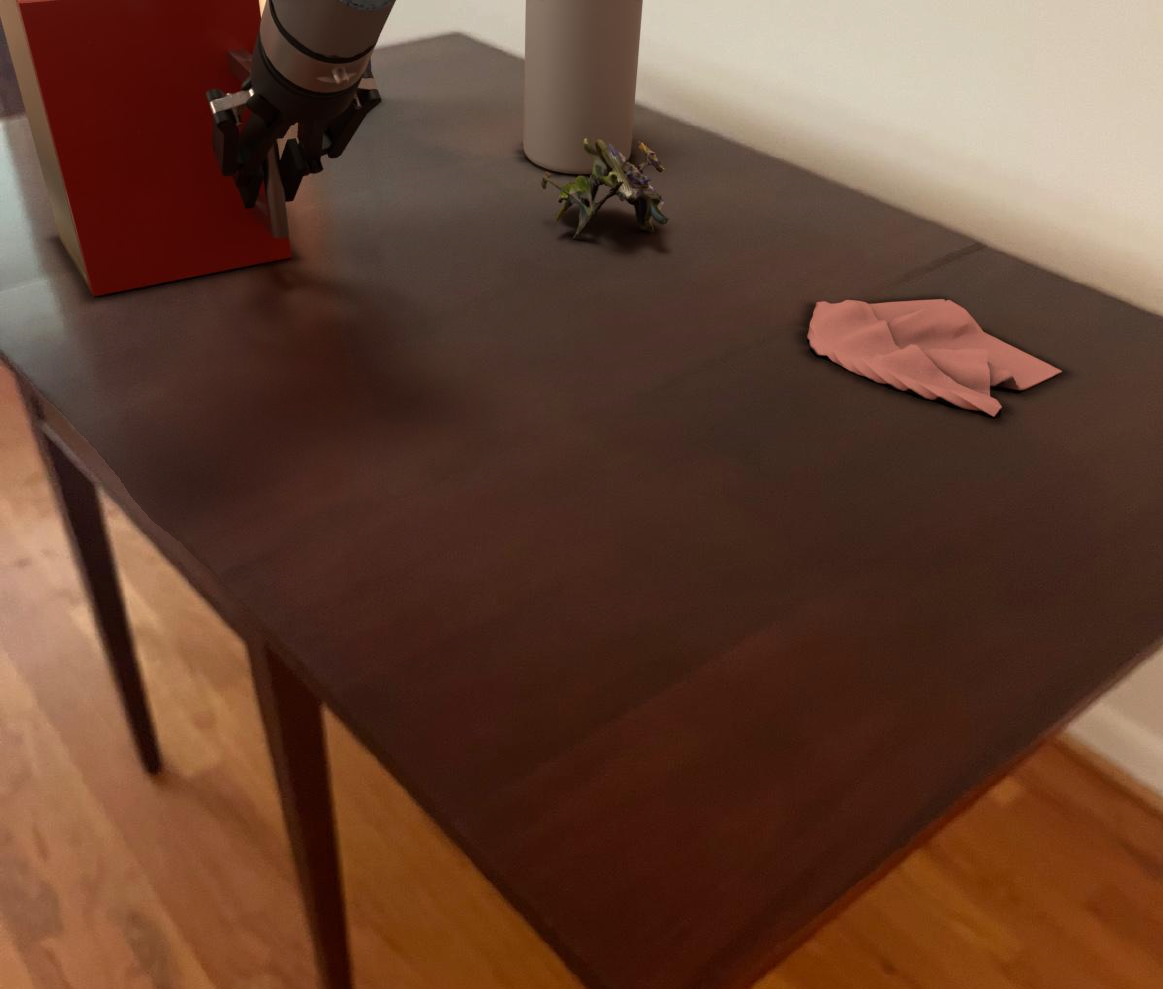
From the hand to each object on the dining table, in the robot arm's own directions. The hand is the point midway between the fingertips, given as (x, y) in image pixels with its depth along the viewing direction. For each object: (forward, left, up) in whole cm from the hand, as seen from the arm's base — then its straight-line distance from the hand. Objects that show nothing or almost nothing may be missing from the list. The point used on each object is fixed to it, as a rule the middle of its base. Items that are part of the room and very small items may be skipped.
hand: (264, 190), depth 100 cm
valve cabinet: (-7, +10, -8) cm, 14 cm away
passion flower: (+33, -5, -8) cm, 35 cm away
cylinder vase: (+41, +14, -8) cm, 44 cm away
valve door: (-7, 0, -8) cm, 10 cm away
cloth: (+46, -39, -8) cm, 61 cm away
